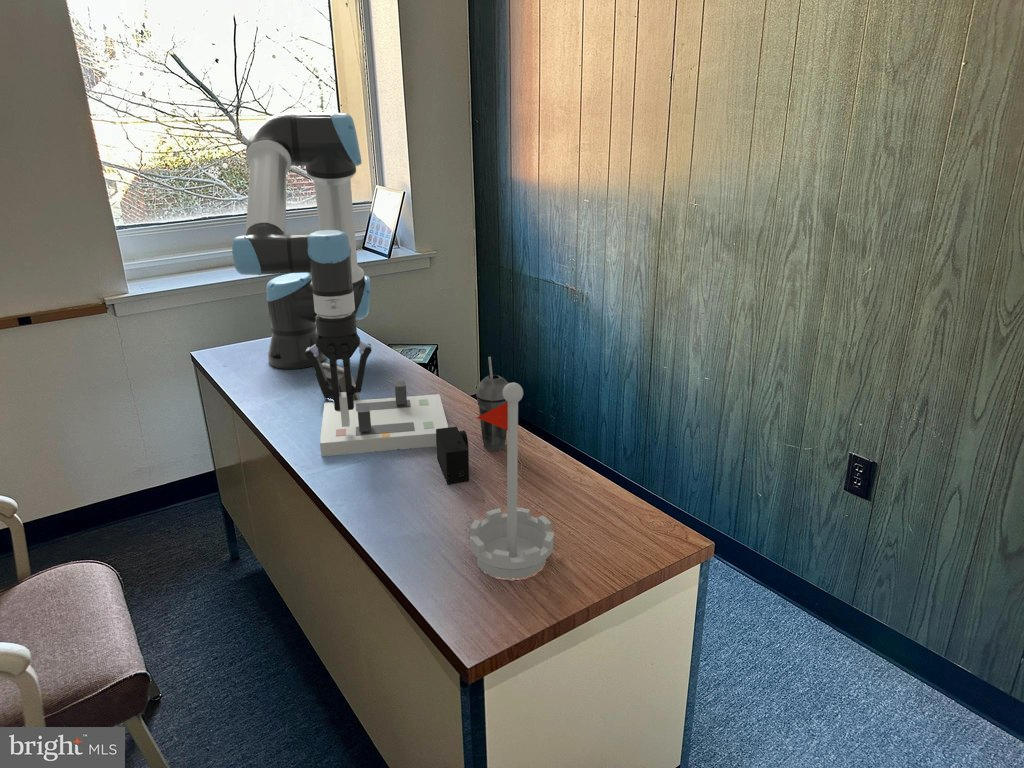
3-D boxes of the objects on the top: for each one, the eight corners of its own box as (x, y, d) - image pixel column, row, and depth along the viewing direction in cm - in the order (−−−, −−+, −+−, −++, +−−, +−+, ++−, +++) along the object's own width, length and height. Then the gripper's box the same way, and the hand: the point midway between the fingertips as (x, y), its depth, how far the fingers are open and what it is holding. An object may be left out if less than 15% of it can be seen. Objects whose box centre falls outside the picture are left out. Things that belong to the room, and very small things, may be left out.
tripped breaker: (359, 425, 145) (357, 406, 143) (371, 424, 145) (369, 405, 144) (359, 431, 142) (357, 412, 140) (371, 430, 143) (369, 411, 141)
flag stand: (545, 532, 116) (550, 364, 105) (560, 582, 104) (567, 399, 93) (467, 537, 115) (464, 368, 103) (473, 588, 103) (469, 404, 91)
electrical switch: (361, 402, 165) (355, 367, 160) (346, 411, 161) (339, 376, 157) (333, 393, 169) (327, 359, 165) (318, 402, 166) (310, 367, 161)
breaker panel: (325, 414, 158) (324, 402, 157) (439, 405, 163) (439, 393, 162) (321, 456, 140) (319, 442, 139) (450, 445, 145) (449, 431, 144)
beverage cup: (518, 445, 145) (519, 355, 137) (494, 457, 140) (494, 364, 132) (493, 434, 149) (493, 346, 142) (469, 445, 144) (467, 355, 137)
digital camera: (475, 481, 131) (475, 448, 129) (447, 485, 130) (446, 452, 127) (463, 456, 140) (462, 425, 138) (437, 459, 139) (435, 428, 136)
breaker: (395, 399, 157) (394, 381, 156) (406, 398, 158) (405, 380, 156) (396, 405, 154) (395, 386, 153) (407, 404, 155) (406, 386, 153)
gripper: (298, 320, 129) (311, 434, 138) (369, 317, 131) (378, 429, 140) (301, 309, 136) (314, 418, 145) (369, 306, 138) (377, 413, 147)
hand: (345, 423), depth 142 cm, fingers closed
